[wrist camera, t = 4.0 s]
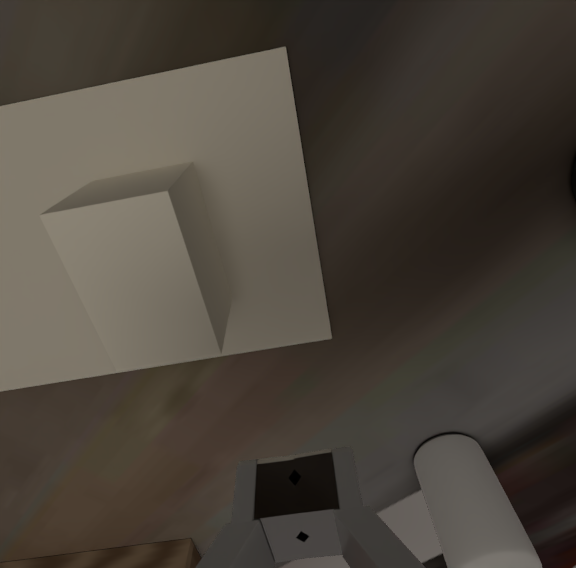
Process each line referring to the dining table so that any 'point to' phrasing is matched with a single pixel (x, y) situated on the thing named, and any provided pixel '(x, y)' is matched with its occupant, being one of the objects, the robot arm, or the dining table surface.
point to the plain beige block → (145, 265)
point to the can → (470, 507)
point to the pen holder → (574, 179)
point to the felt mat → (150, 155)
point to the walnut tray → (121, 557)
